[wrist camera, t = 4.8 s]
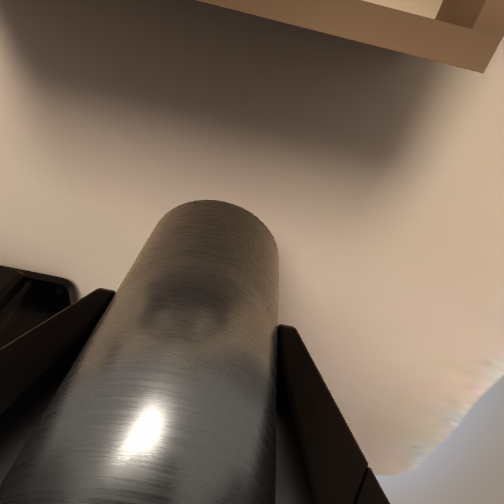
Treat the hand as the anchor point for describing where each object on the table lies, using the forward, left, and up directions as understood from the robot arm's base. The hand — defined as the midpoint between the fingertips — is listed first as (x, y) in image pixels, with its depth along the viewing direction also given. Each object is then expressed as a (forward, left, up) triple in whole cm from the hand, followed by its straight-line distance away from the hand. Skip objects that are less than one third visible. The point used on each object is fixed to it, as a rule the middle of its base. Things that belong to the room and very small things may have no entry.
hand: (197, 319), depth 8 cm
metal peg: (0, 0, -3) cm, 3 cm away
